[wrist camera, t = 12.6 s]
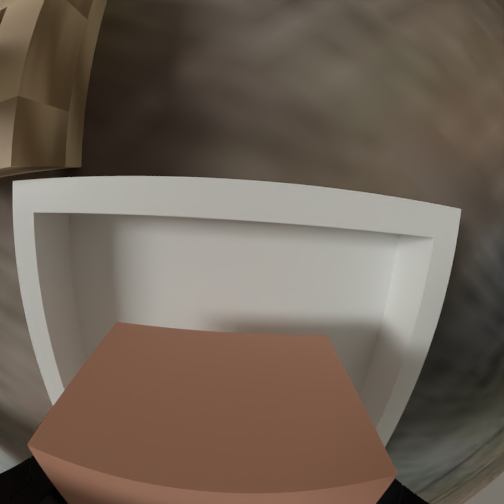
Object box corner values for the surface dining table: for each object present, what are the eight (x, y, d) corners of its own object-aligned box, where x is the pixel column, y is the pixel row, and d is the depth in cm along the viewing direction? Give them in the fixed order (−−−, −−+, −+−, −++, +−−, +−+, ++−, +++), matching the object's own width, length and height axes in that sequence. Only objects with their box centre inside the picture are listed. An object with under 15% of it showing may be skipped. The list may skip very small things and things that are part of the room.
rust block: (295, 460, 9) (315, 565, 5) (142, 451, 9) (114, 552, 4) (326, 334, 8) (397, 474, 3) (116, 321, 8) (26, 444, 3)
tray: (344, 452, 14) (358, 490, 11) (102, 437, 13) (85, 474, 10) (414, 200, 10) (461, 209, 8) (60, 177, 10) (13, 180, 7)
